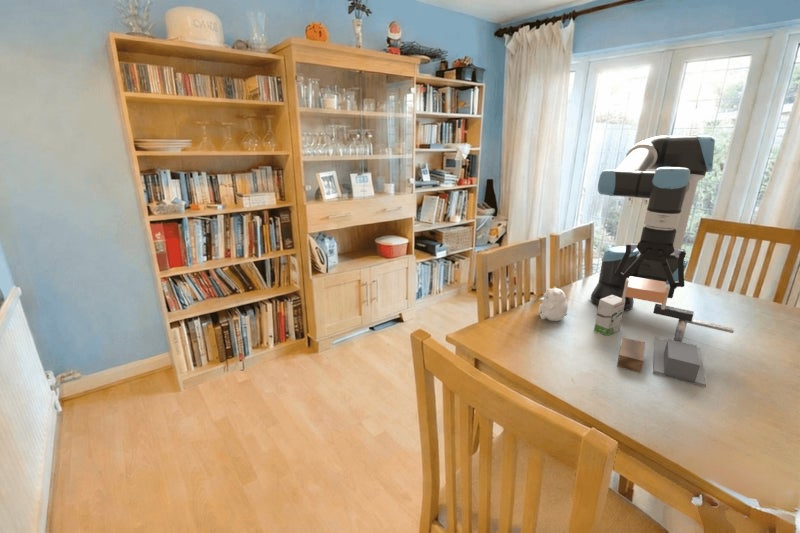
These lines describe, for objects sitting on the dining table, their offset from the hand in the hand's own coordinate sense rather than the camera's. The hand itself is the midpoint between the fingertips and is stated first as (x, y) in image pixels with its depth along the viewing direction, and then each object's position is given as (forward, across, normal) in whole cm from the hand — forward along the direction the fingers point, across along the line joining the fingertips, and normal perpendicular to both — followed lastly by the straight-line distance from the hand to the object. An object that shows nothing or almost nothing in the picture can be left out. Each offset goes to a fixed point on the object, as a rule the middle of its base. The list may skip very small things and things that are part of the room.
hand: (642, 303), depth 107 cm
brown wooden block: (+19, 0, 0) cm, 19 cm away
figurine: (+19, -26, +16) cm, 36 cm away
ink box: (+19, -8, +17) cm, 27 cm away
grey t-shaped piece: (+18, +14, +17) cm, 28 cm away
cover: (-3, 0, 0) cm, 3 cm away
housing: (+19, +12, +8) cm, 24 cm away
